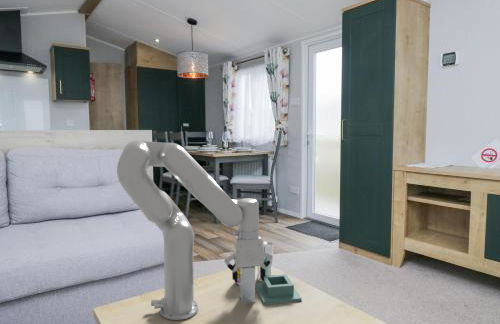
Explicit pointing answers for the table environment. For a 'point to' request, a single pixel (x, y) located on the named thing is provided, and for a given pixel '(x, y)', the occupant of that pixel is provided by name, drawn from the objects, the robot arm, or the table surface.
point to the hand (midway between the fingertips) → (249, 280)
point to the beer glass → (268, 249)
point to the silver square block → (247, 285)
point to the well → (277, 290)
